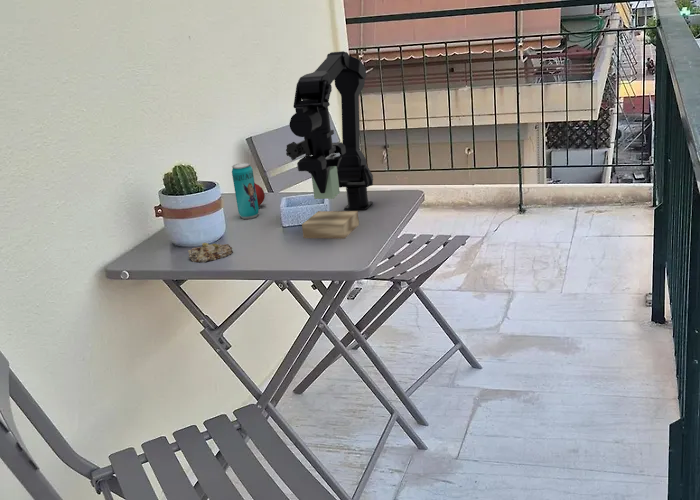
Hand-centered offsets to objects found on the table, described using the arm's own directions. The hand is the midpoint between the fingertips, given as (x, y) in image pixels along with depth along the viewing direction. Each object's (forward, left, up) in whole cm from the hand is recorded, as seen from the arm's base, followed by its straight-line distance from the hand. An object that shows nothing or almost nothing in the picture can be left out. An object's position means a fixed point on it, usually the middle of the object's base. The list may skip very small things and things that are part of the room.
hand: (326, 190), depth 188 cm
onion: (-22, -31, -11) cm, 40 cm away
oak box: (0, 0, -11) cm, 11 cm away
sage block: (0, 0, -2) cm, 2 cm away
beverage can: (-13, -29, -11) cm, 34 cm away
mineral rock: (+19, -25, -11) cm, 33 cm away
